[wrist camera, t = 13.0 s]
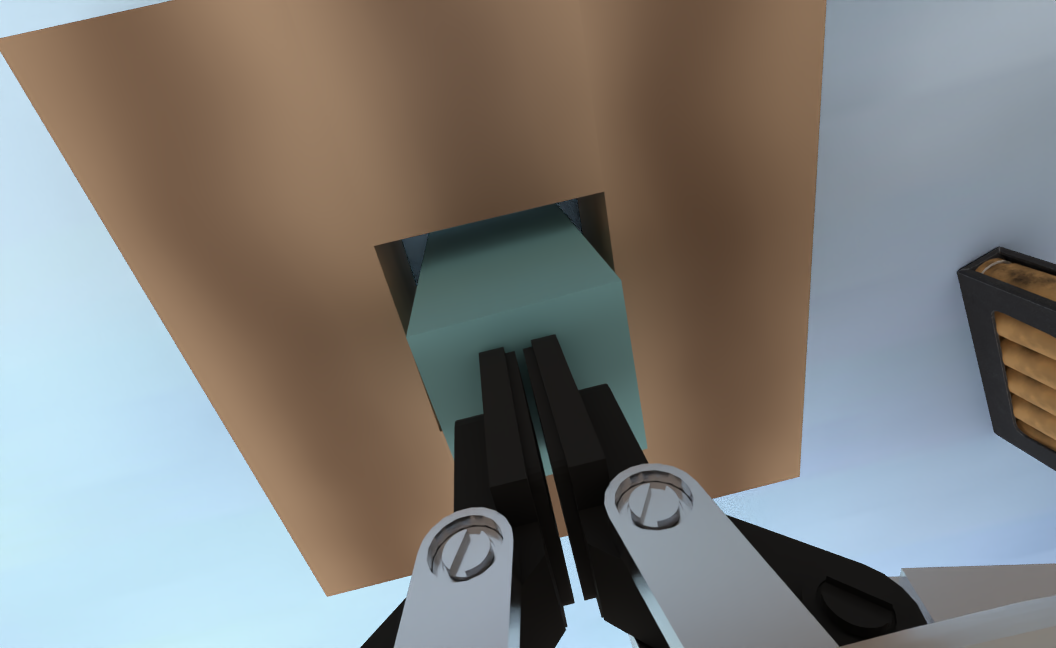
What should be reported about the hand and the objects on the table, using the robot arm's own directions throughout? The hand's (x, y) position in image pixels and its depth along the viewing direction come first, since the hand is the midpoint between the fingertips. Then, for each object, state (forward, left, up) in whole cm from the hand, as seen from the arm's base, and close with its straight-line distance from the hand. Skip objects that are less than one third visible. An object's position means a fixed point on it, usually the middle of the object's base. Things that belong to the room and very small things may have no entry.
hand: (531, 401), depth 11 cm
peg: (0, 0, -8) cm, 8 cm away
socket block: (0, 0, -8) cm, 8 cm away
